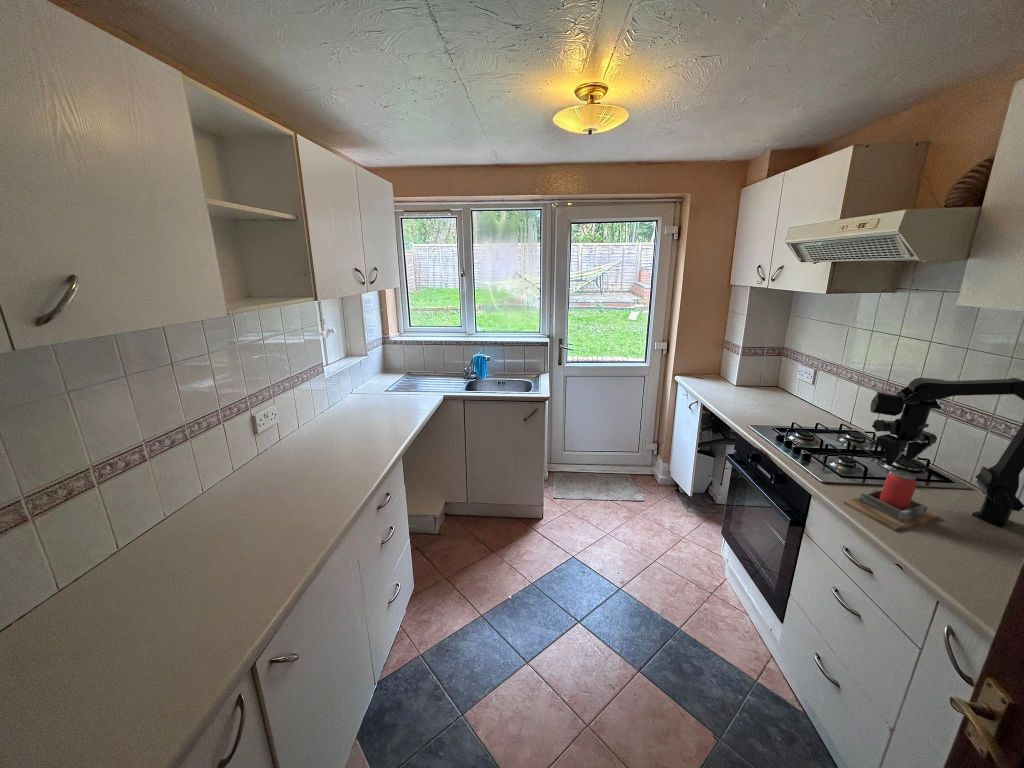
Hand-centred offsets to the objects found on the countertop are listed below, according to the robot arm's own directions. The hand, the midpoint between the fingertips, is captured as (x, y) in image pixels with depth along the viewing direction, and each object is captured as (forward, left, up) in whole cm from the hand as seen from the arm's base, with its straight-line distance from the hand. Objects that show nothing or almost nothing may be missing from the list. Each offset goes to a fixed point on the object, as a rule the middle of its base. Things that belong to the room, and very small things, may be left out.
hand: (898, 463), depth 127 cm
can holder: (+9, +6, -12) cm, 16 cm away
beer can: (+9, +6, -11) cm, 16 cm away
